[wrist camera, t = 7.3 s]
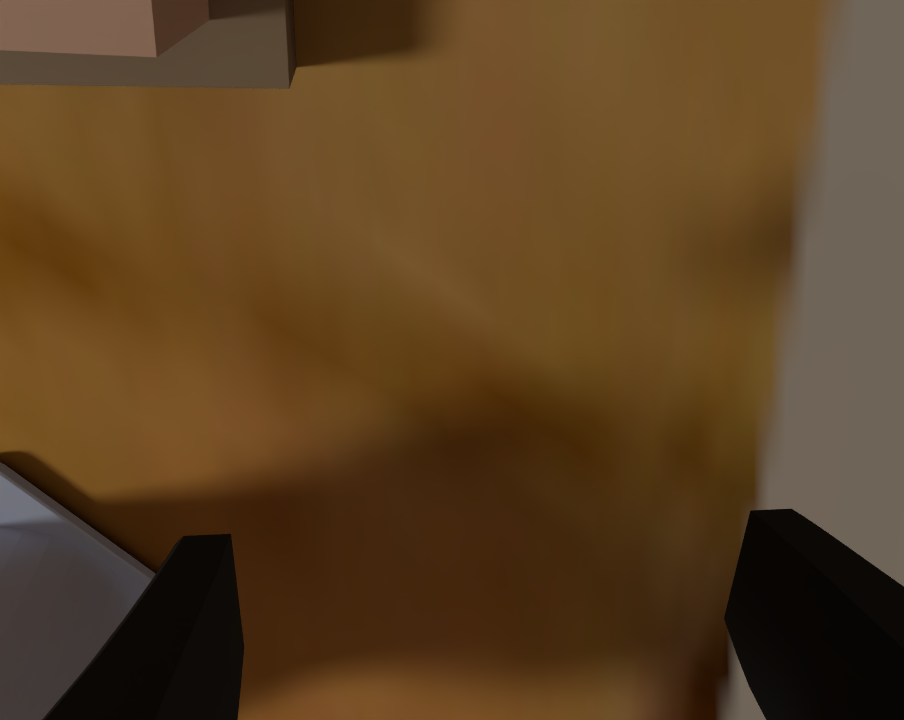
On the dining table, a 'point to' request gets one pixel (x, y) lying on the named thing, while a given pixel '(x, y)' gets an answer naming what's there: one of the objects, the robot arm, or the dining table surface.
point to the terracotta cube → (99, 25)
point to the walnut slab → (182, 55)
